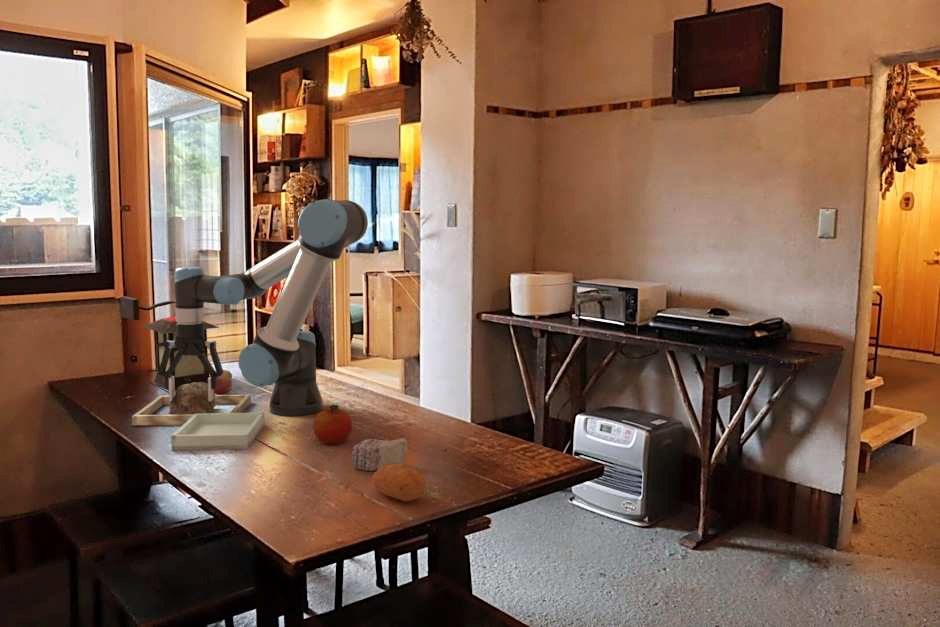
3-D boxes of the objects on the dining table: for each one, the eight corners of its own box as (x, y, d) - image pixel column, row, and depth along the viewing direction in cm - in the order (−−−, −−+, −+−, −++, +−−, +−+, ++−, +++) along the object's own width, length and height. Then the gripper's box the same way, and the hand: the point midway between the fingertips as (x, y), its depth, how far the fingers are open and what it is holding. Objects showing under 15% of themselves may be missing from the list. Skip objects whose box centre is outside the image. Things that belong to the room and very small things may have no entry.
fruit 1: (227, 398, 240) (226, 373, 239) (203, 397, 241) (202, 372, 240) (238, 392, 248) (237, 367, 247) (215, 391, 249) (214, 367, 248)
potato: (402, 511, 151) (402, 476, 150) (365, 493, 161) (365, 459, 160) (432, 502, 156) (432, 468, 155) (394, 485, 166) (394, 452, 165)
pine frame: (250, 402, 235) (250, 394, 235) (232, 423, 212) (232, 414, 212) (160, 403, 233) (160, 395, 233) (132, 425, 210) (131, 416, 210)
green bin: (264, 425, 211) (264, 412, 210) (247, 449, 190) (247, 434, 190) (196, 426, 210) (195, 413, 209) (171, 450, 189) (170, 436, 188)
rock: (163, 416, 223) (172, 424, 215) (159, 387, 221) (168, 394, 213) (214, 405, 231) (225, 412, 223) (211, 377, 229) (221, 383, 221)
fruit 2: (347, 435, 202) (347, 397, 201) (356, 445, 193) (355, 406, 192) (310, 439, 198) (309, 400, 197) (317, 449, 190) (316, 409, 188)
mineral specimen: (400, 458, 184) (400, 432, 183) (410, 467, 177) (409, 440, 176) (347, 464, 179) (347, 438, 178) (355, 474, 173) (354, 447, 172)
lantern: (121, 387, 254) (115, 295, 250) (198, 376, 272) (194, 290, 268) (141, 397, 241) (136, 300, 237) (222, 385, 258) (218, 294, 254)
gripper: (234, 321, 224) (235, 397, 227) (152, 319, 222) (154, 396, 225) (228, 325, 216) (229, 403, 220) (143, 323, 215) (146, 402, 218)
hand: (191, 399), depth 222 cm, fingers open, 10 cm apart
